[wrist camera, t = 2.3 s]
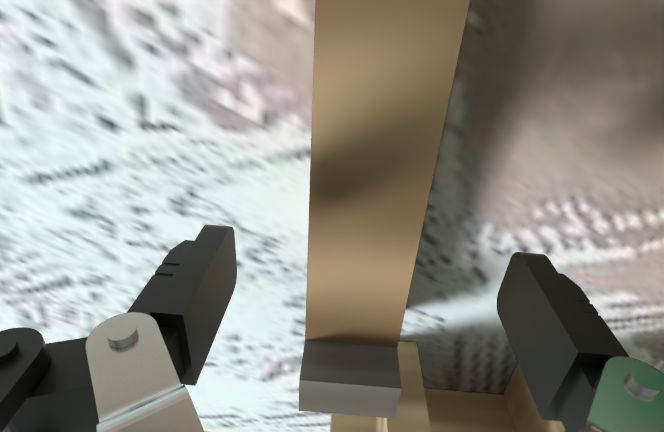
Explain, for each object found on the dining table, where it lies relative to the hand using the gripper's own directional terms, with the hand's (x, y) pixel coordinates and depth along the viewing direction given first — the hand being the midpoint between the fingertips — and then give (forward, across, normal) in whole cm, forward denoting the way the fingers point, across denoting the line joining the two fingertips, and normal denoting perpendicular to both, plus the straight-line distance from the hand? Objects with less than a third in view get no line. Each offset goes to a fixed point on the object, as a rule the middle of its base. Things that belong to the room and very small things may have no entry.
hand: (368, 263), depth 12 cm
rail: (+7, 0, -1) cm, 7 cm away
